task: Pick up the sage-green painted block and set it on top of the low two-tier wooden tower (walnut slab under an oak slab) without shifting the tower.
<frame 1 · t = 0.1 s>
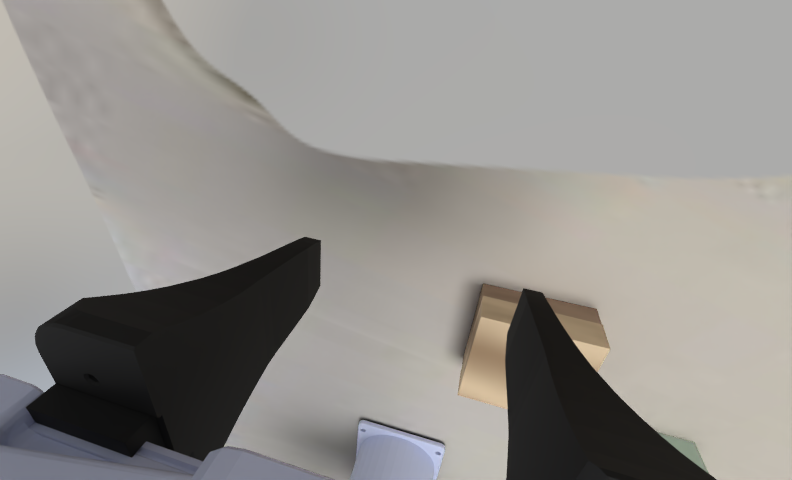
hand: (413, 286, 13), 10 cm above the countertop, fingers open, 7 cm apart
tower base: (523, 330, 26), on the countertop
tower top: (524, 350, 24), point 1 cm above the countertop
sage block: (645, 450, 28), on the countertop
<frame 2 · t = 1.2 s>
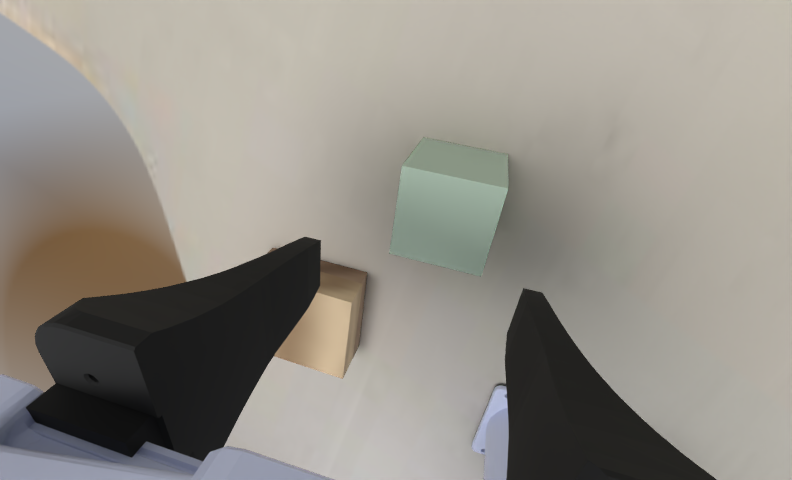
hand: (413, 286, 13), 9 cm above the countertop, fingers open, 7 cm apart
tower base: (321, 293, 28), on the countertop, touching tower top
tower top: (310, 308, 26), point 1 cm above the countertop, touching tower base
sage block: (456, 184, 21), on the countertop
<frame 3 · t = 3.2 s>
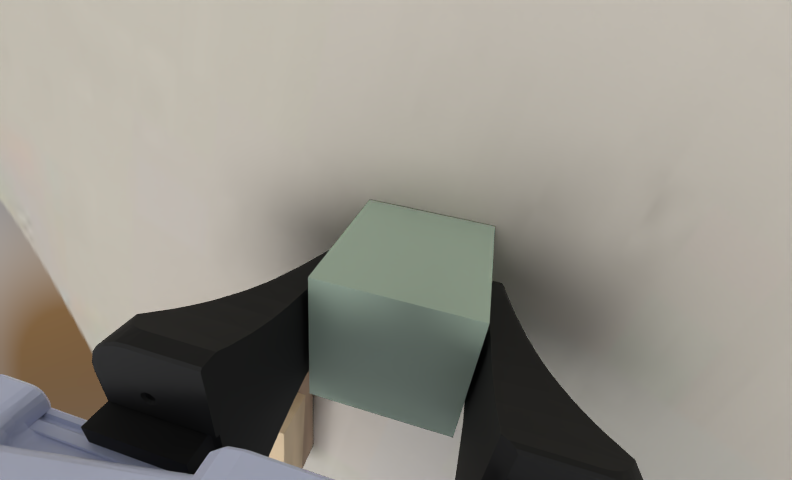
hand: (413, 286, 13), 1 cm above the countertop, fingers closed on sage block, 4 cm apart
tower base: (260, 383, 22), on the countertop, touching tower top
tower top: (242, 414, 20), point 1 cm above the countertop, touching tower base
sage block: (421, 264, 14), on the countertop, touching gripper
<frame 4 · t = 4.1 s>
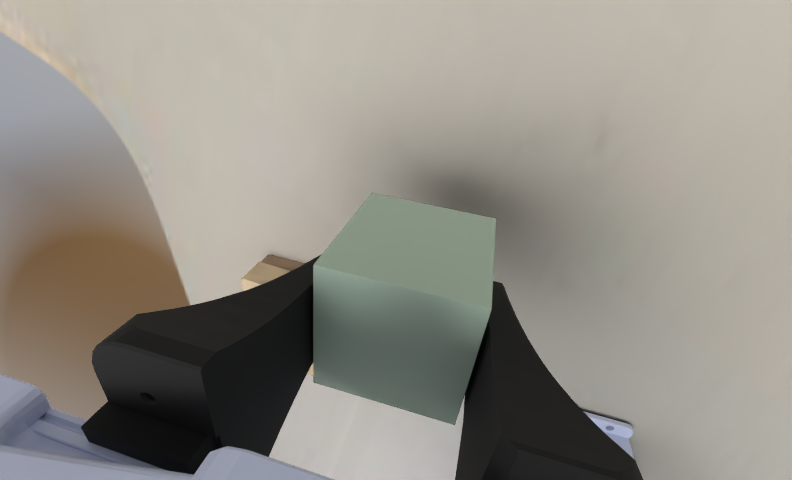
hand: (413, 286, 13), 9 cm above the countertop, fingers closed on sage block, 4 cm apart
tower base: (318, 298, 28), on the countertop, touching tower top
tower top: (305, 314, 27), point 1 cm above the countertop, touching tower base
sage block: (423, 257, 15), point 7 cm above the countertop, touching gripper
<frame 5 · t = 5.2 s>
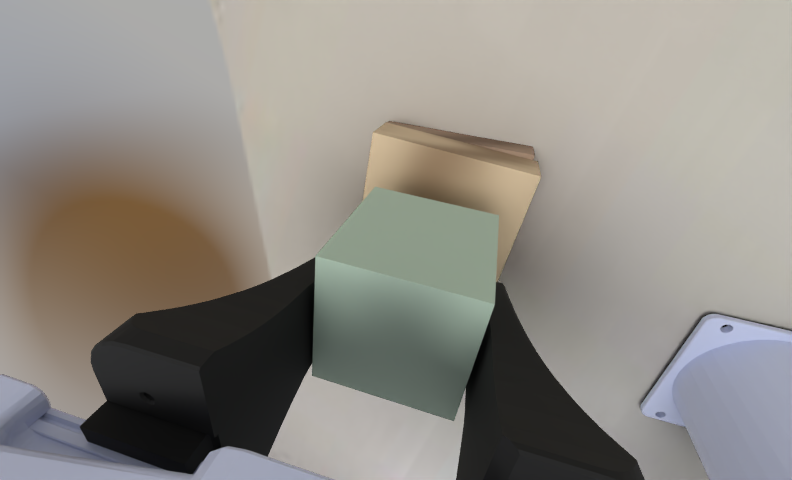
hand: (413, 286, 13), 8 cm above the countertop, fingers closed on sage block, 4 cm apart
tower base: (447, 195, 20), on the countertop, touching tower top
tower top: (440, 209, 19), point 1 cm above the countertop, touching tower base
sage block: (424, 253, 14), point 6 cm above the countertop, touching gripper
when the fingers open (7 cm above the countertop, at t = 6.3 s): sage block drops 1 cm, resting on tower top.
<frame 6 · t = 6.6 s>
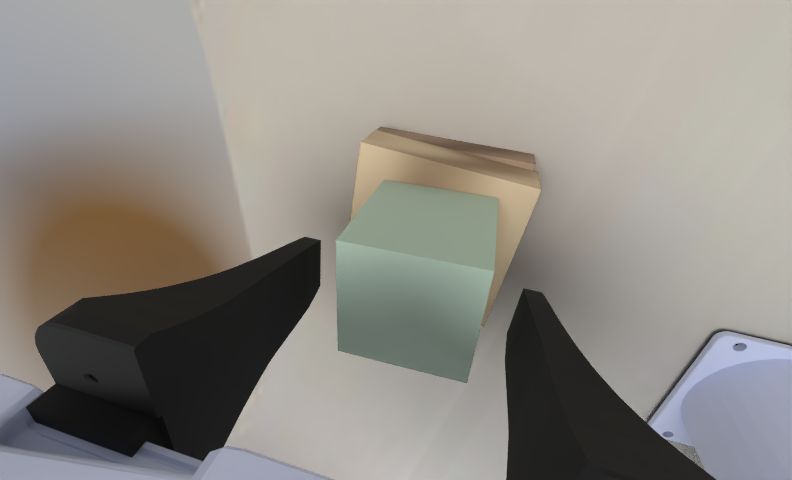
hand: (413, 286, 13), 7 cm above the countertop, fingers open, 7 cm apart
tower base: (442, 204, 19), on the countertop, touching tower top
tower top: (435, 221, 18), point 1 cm above the countertop, touching sage block, tower base
sage block: (432, 238, 16), point 3 cm above the countertop, touching tower top
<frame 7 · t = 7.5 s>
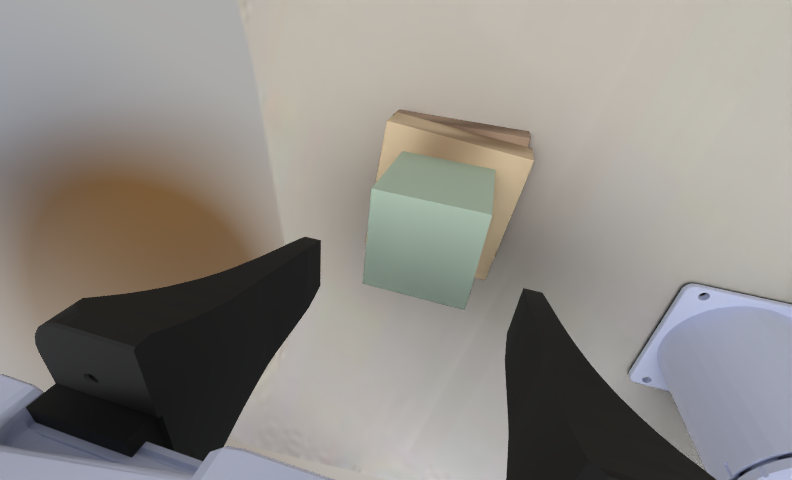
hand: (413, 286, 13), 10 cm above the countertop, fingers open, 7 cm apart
tower base: (451, 177, 22), on the countertop, touching tower top
tower top: (444, 191, 21), point 1 cm above the countertop, touching sage block, tower base
sage block: (439, 202, 19), point 3 cm above the countertop, touching tower top
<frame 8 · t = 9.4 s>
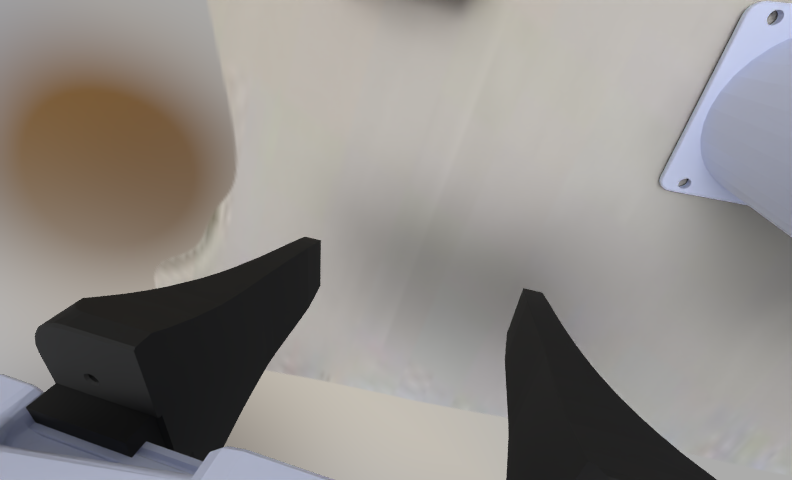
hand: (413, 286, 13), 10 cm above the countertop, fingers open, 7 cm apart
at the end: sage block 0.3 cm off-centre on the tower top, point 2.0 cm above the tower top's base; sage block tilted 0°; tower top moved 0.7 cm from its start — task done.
